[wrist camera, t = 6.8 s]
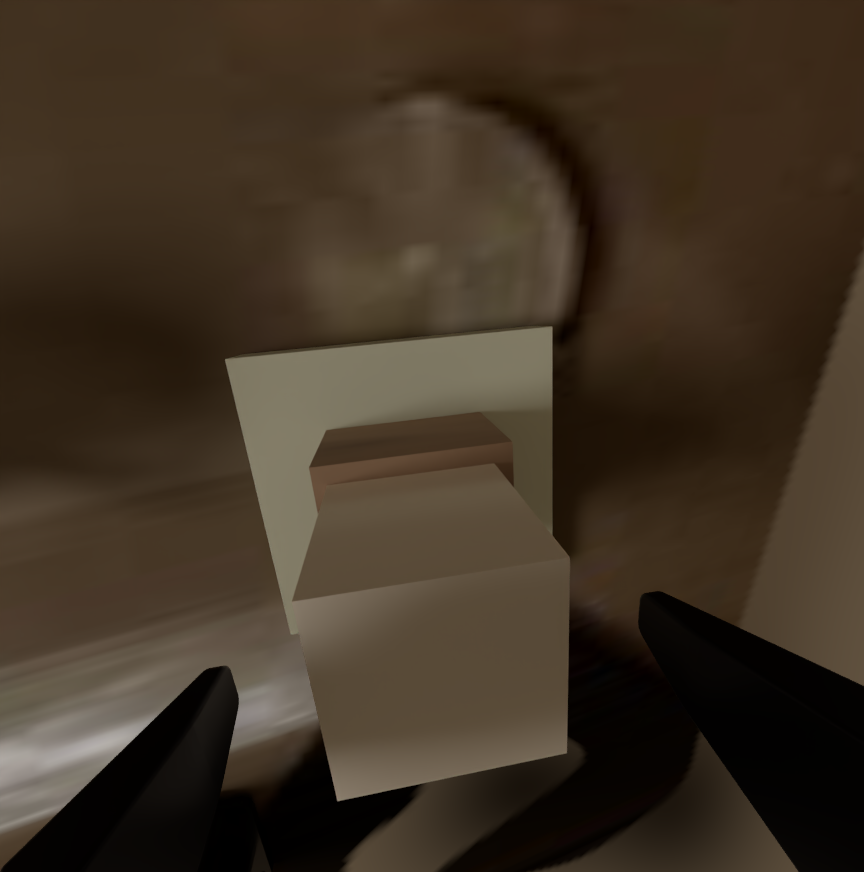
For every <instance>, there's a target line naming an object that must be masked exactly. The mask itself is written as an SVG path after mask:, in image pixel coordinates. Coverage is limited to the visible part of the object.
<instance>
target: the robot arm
mask: <svg viewBox="0 0 864 872" xmlns="http://www.w3.org/2000/svg"><path fill="white" fill-rule="evenodd" d="M638 625H639V629H640V632H641V634H642V636H643V638H644V640H645V642H646V643H647V645H648V647H649V648H650V650H651V652H652V654H653V655H654V657H655V659H656V661H657V662H658V664H659V666H660V668H661V669H662V671H663V673H664V675H665V676H666V678H667V680H668V681H669V683H670V685H671V687H672V688H673V690H674V692H675V693H676V695H677V697H678V698H679V700H680V702H681V703H682V705H683V706H684V708H685V709H686V711H687V712H688V714H689V715H690V717H691V718H692V720H693V721H694V722H695V724H696V725H697V727H698V728H699V730H700V731H701V732H702V734H703V735H704V737H705V738H706V739H707V741H708V743H709V744H710V745H711V747H712V748H713V750H714V751H715V753H716V754H717V755H718V757H719V758H720V760H721V761H722V763H723V764H724V765H725V767H726V768H727V770H728V771H729V772H730V774H731V775H732V777H733V778H734V780H735V781H736V782H737V784H738V786H739V787H740V788H741V790H742V791H743V793H744V794H745V796H746V797H747V798H748V800H749V801H750V803H751V804H752V805H753V807H754V808H755V810H756V811H757V813H758V814H759V816H760V817H761V818H762V820H763V821H764V823H765V824H766V826H767V827H768V828H769V830H770V831H771V833H772V834H773V836H774V837H775V838H776V840H777V841H778V843H779V844H780V846H781V847H782V849H783V850H784V851H785V853H786V854H787V856H788V857H789V859H790V860H791V862H792V863H793V864H794V865H795V867H796V869H797V870H798V872H864V686H862V685H860V684H858V683H856V682H854V681H852V680H850V679H848V678H846V677H843V676H841V675H839V674H837V673H835V672H833V671H831V670H828V669H826V668H824V667H822V666H820V665H818V664H816V663H813V662H811V661H809V660H807V659H805V658H803V657H800V656H798V655H796V654H794V653H792V652H790V651H788V650H786V649H783V648H781V647H779V646H777V645H775V644H773V643H770V642H768V641H766V640H764V639H762V638H760V637H758V636H756V635H753V634H751V633H749V632H747V631H745V630H743V629H741V628H738V627H736V626H734V625H732V624H730V623H728V622H726V621H723V620H721V619H719V618H717V617H715V616H713V615H711V614H708V613H706V612H704V611H702V610H700V609H698V608H696V607H693V606H691V605H689V604H687V603H685V602H683V601H681V600H678V599H676V598H674V597H672V596H670V595H668V594H666V593H663V592H660V591H655V592H649V593H644V594H642V596H641V597H640V606H639V619H638ZM238 705H239V698H238V693H237V689H236V686H235V683H234V680H233V676H232V673H231V670H230V668H229V667H228V666H219V667H213V668H209V669H206V670H205V671H203V672H202V673H201V674H200V675H199V676H198V677H197V678H196V679H195V680H194V681H193V682H192V683H191V684H190V685H189V686H188V687H187V688H186V689H185V690H184V691H183V692H182V693H181V694H180V695H179V696H178V697H177V698H176V699H175V700H173V701H172V702H171V703H170V704H169V705H168V706H167V707H166V708H165V709H164V710H163V711H162V712H161V713H160V714H159V715H158V716H157V717H156V718H155V719H154V720H153V721H152V722H151V723H150V724H149V725H148V726H147V727H146V728H145V729H144V730H143V731H142V732H141V733H140V734H139V735H138V736H137V737H135V738H134V739H133V740H132V741H131V742H130V743H129V744H128V745H127V746H126V747H125V748H124V749H123V750H122V751H121V752H120V753H119V754H118V755H117V756H116V757H115V758H114V759H113V760H112V761H111V762H110V763H109V764H108V765H107V766H106V767H105V768H104V769H103V770H102V771H101V772H100V773H99V774H97V775H96V776H95V777H94V778H93V779H92V780H91V781H90V782H89V783H88V784H87V785H86V786H85V787H84V788H83V789H82V790H81V791H80V792H79V793H78V794H77V795H76V796H75V797H74V798H73V799H72V800H71V801H70V802H69V803H68V804H67V805H66V806H65V807H64V808H63V809H62V810H61V811H59V812H58V813H57V814H56V815H55V816H54V817H53V818H52V819H51V820H50V821H49V822H48V823H47V824H46V825H45V826H44V827H43V828H42V829H41V830H40V831H39V832H38V833H37V834H36V835H35V836H34V837H33V838H32V839H31V840H30V841H29V842H28V843H27V844H26V845H25V846H24V847H23V848H22V849H20V850H19V851H18V852H17V853H16V854H15V855H14V856H13V857H12V858H11V859H10V860H9V861H8V862H7V863H6V864H5V865H4V866H3V867H2V869H1V871H0V872H272V870H273V861H272V858H271V855H270V852H269V849H268V846H267V843H266V840H265V837H264V833H263V830H262V827H261V824H260V821H259V818H258V815H257V812H256V809H255V806H254V802H253V800H252V799H251V798H249V797H238V798H233V799H229V800H224V801H219V802H218V800H219V796H220V792H221V788H222V783H223V779H224V774H225V769H226V764H227V760H228V755H229V750H230V745H231V740H232V735H233V731H234V726H235V721H236V716H237V711H238Z"/></svg>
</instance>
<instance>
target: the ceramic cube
mask: <svg viewBox="0 0 864 872" xmlns="http://www.w3.org/2000/svg"><path fill="white" fill-rule="evenodd" d="M569 589H570V557H569V556H568V554H567V553H566V552H565V551H564V549H563V548H562V547H561V546H560V544H559V543H558V542H557V541H556V539H555V538H554V537H553V536H552V534H551V533H550V532H549V531H548V530H547V528H546V527H545V526H544V525H543V523H542V522H541V521H540V520H539V518H538V517H537V516H536V515H535V513H534V512H533V511H532V510H531V508H530V507H529V506H528V505H527V503H526V502H525V501H524V500H523V498H522V497H521V496H520V495H519V493H518V492H517V491H516V490H515V488H514V487H513V486H512V485H511V483H510V482H509V481H508V480H507V479H506V477H505V476H504V475H503V474H502V472H501V471H500V470H499V469H498V467H497V466H496V465H495V464H494V463H493V464H485V465H477V466H470V467H462V468H455V469H447V470H439V471H432V472H424V473H417V474H409V475H402V476H394V477H386V478H379V479H371V480H364V481H356V482H349V483H341V484H333V485H327V487H326V490H325V493H324V497H323V500H322V503H321V506H320V510H319V513H318V516H317V520H316V523H315V526H314V530H313V533H312V536H311V540H310V543H309V546H308V549H307V553H306V556H305V559H304V563H303V566H302V569H301V573H300V576H299V579H298V582H297V586H296V589H295V592H294V596H293V599H292V605H293V610H294V614H295V619H296V623H297V627H298V632H299V636H300V640H301V645H302V649H303V653H304V658H305V662H306V666H307V671H308V675H309V679H310V684H311V688H312V692H313V697H314V701H315V705H316V710H317V714H318V718H319V723H320V727H321V732H322V736H323V740H324V745H325V749H326V753H327V758H328V762H329V766H330V771H331V775H332V779H333V784H334V788H335V792H336V797H337V801H341V800H346V799H351V798H355V797H360V796H365V795H370V794H374V793H379V792H384V791H389V790H394V789H398V788H403V787H408V786H413V785H417V784H422V783H427V782H432V781H436V780H441V779H446V778H451V777H455V776H460V775H465V774H470V773H475V772H479V771H484V770H489V769H494V768H498V767H503V766H508V765H512V764H517V763H522V762H527V761H532V760H536V759H541V758H546V757H551V756H556V755H560V754H565V753H567V714H568V651H569Z"/></svg>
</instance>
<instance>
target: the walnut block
mask: <svg viewBox="0 0 864 872" xmlns="http://www.w3.org/2000/svg"><path fill="white" fill-rule="evenodd" d="M493 463H494V464H495V465H496V466H497V467H498V469H499V470H500V471H501V472H502V474H503V475H504V476H505V477H506V479H507V480H508V481H509V482H510V483H511V485H512V486H513V487H514V472H513V442H512V441H511V440H510V439H509V438H508V437H507V436H506V435H505V434H504V433H503V432H502V431H500V430H499V429H498V428H497V427H496V426H495V425H494V424H493V423H492V422H491V421H489V420H488V419H487V418H486V417H485V416H484V415H483V414H482V413H481V412H474V413H466V414H458V415H449V416H441V417H432V418H424V419H416V420H407V421H399V422H391V423H382V424H374V425H366V426H357V427H349V428H341V429H332V430H326V431H325V434H324V436H323V438H322V440H321V442H320V445H319V447H318V449H317V451H316V453H315V455H314V458H313V460H312V462H311V464H310V466H309V471H310V476H311V481H312V487H313V492H314V497H315V502H316V507H317V512H318V513H319V510H320V506H321V503H322V500H323V497H324V493H325V490H326V487H327V485H333V484H341V483H349V482H356V481H364V480H371V479H379V478H386V477H394V476H402V475H409V474H417V473H424V472H432V471H439V470H447V469H455V468H462V467H470V466H477V465H485V464H493Z"/></svg>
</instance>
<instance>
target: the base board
mask: <svg viewBox="0 0 864 872" xmlns="http://www.w3.org/2000/svg"><path fill="white" fill-rule="evenodd" d="M225 362H226V366H227V370H228V374H229V378H230V383H231V387H232V391H233V395H234V399H235V404H236V408H237V412H238V416H239V420H240V424H241V429H242V433H243V437H244V441H245V445H246V449H247V454H248V458H249V462H250V466H251V470H252V475H253V479H254V483H255V487H256V491H257V495H258V500H259V504H260V508H261V512H262V516H263V520H264V525H265V529H266V533H267V537H268V541H269V546H270V550H271V554H272V558H273V562H274V566H275V571H276V575H277V579H278V583H279V587H280V591H281V596H282V600H283V604H284V608H285V612H286V616H287V621H288V625H289V629H290V633H291V635H292V634H298V633H299V632H298V627H297V623H296V619H295V614H294V610H293V605H292V599H293V596H294V592H295V589H296V586H297V582H298V579H299V576H300V573H301V569H302V566H303V563H304V559H305V556H306V553H307V549H308V546H309V543H310V540H311V536H312V533H313V530H314V526H315V523H316V520H317V516H318V512H317V507H316V502H315V497H314V492H313V487H312V481H311V476H310V471H309V466H310V464H311V462H312V460H313V458H314V455H315V453H316V451H317V449H318V447H319V445H320V442H321V440H322V438H323V436H324V434H325V431H326V430H332V429H341V428H349V427H357V426H366V425H374V424H382V423H391V422H399V421H407V420H416V419H424V418H432V417H441V416H449V415H458V414H466V413H474V412H481V413H482V414H483V415H484V416H485V417H486V418H487V419H488V420H489V421H491V422H492V423H493V424H494V425H495V426H496V427H497V428H498V429H499V430H500V431H502V432H503V433H504V434H505V435H506V436H507V437H508V438H509V439H510V440H511V441H512V442H513V472H514V488H515V490H516V491H517V492H518V493H519V495H520V496H521V497H522V498H523V500H524V501H525V502H526V503H527V505H528V506H529V507H530V508H531V510H532V511H533V512H534V513H535V515H536V516H537V517H538V518H539V520H540V521H541V522H542V523H543V525H544V526H545V527H546V528H547V530H548V531H549V532H550V533H551V534H552V326H523V327H513V328H503V329H493V330H483V331H473V332H463V333H453V334H443V335H433V336H423V337H413V338H402V339H392V340H382V341H372V342H362V343H352V344H342V345H332V346H322V347H312V348H302V349H292V350H281V351H271V352H261V353H251V354H242V355H239V356H235V357H231V358H228V359H225Z"/></svg>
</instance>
